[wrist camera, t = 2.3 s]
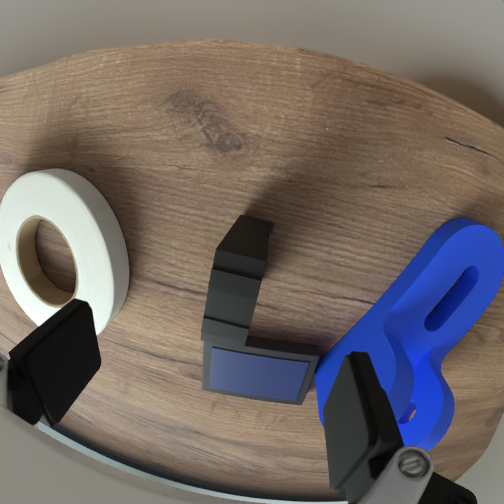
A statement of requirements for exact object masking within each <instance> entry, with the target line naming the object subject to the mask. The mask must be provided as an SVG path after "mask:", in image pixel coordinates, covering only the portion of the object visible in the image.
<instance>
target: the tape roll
mask: <svg viewBox="0 0 504 504" xmlns="http://www.w3.org/2000/svg"><path fill="white" fill-rule="evenodd" d="M42 219H43V220H45V221H47V222H49V223H50V224H52V225H53V226H54V227H55V228H56V229H57V230H58V231H59V232H60V234H61V235H62V237H63V238H64V240H65V241H66V243H67V245H68V247H69V249H70V252H71V254H72V257H73V260H74V264H75V270H76V288H75V291H74V293H69V292H66V291H63V290H61V289H59V288H58V287H56V286H55V285H54V284H53V283H52V282H51V281H50V280H49V279H48V278H47V276H46V275H45V274H44V272H43V270H42V268H41V266H40V264H39V261H38V258H37V254H36V249H35V235H36V230H37V227H38V224H39V223H40V221H41V220H42ZM0 264H1V267H2V270H3V273H4V276H5V279H6V281H7V284H8V286H9V288H10V290H11V292H12V294H13V295H14V297H15V299H16V300H17V302H18V303H19V305H20V306H21V307H22V309H23V310H24V311H25V312H26V314H27V315H28V316H29V317H30V318H31V319H32V320H33V321H34V322H35V323H36V324H37V325H38V326H40V325H41V324H42V323H44V322H45V321H46V320H47V319H48V318H50V317H51V316H52V315H53V314H55V313H56V312H57V311H58V310H60V309H61V308H62V307H63V306H65V305H66V304H67V303H68V302H70V301H71V300H72V299H74V298H77V299H80V300H83V301H87V302H88V303H89V305H90V307H91V308H92V311H93V317H94V324H95V330H96V336H97V335H98V334H99V333H100V332H101V331H102V330H103V329H104V328H105V327H106V326H107V325H108V324H109V323H110V322H111V321H112V320H113V318H114V317H115V316H116V315H117V314H118V313H119V311H120V309H121V307H122V306H123V303H124V301H125V298H126V295H127V291H128V285H129V261H128V254H127V248H126V244H125V240H124V237H123V233H122V231H121V228H120V226H119V223H118V221H117V218H116V216H115V214H114V213H113V211H112V209H111V207H110V206H109V204H108V202H107V201H106V200H105V198H104V197H103V195H102V194H101V193H100V192H99V191H98V190H97V189H96V188H95V187H94V186H93V185H92V184H91V183H90V182H89V181H88V180H86V179H85V178H84V177H82V176H80V175H78V174H77V173H75V172H72V171H69V170H65V169H46V170H40V171H34V172H29V173H26V174H24V175H22V176H21V177H19V178H18V179H17V180H15V181H14V182H13V184H12V185H11V186H10V187H9V189H8V190H7V191H6V193H5V195H4V197H3V199H2V202H1V205H0Z"/></svg>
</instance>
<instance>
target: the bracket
mask: <svg viewBox="0 0 504 504" xmlns="http://www.w3.org/2000/svg"><path fill="white" fill-rule="evenodd" d="M464 270H465V272H464V274H463V276H462V277H461V278H460V279H459V281H458V282H457V283H456V285H455V286H454V287H453V288H452V290H451V291H450V292H449V293H448V295H447V296H446V297H445V298H444V299H443V301H442V302H441V303H440V304H439V305H438V306H437V308H436V309H435V310H434V311H433V312H432V313H431V314H430V315H429V316H428V317H427V315H428V314H429V313H430V312H431V311H432V310H433V308H434V307H435V306H436V305H437V304H438V303H439V301H440V300H441V299H442V298H443V297H444V295H445V294H446V293H447V292H448V291H449V289H450V288H451V287H452V286H453V284H454V283H455V282H456V281H457V279H458V278H459V277H460V275H461V274H462V273H463V271H464ZM503 274H504V248H503V245H502V242H501V240H500V238H499V237H498V235H497V234H496V233H495V232H494V231H493V230H492V229H491V228H489V227H487V226H485V225H483V224H480V223H478V222H476V221H474V220H471V219H467V218H459V219H454V220H451V221H449V222H447V223H445V224H444V225H442V226H441V227H439V228H438V229H437V230H436V231H435V232H434V233H433V234H432V235H431V237H430V238H429V239H428V240H427V242H426V243H425V244H424V246H423V247H422V248H421V250H420V251H419V252H418V254H417V255H416V256H415V257H414V259H413V260H412V261H411V262H410V264H409V265H408V266H407V267H406V269H405V270H404V271H403V272H402V273H401V275H400V276H399V277H398V278H397V279H396V281H395V282H394V283H393V284H392V285H391V286H390V288H389V289H388V290H387V291H386V292H385V293H384V294H383V296H382V297H381V298H380V299H379V300H378V301H377V302H376V303H375V304H374V306H373V307H372V308H371V309H370V310H369V311H368V312H367V313H366V314H365V315H364V316H363V317H362V318H361V320H360V321H359V322H358V323H357V324H356V325H355V326H354V327H353V328H352V329H351V330H350V331H349V332H348V333H347V334H346V335H345V336H344V337H343V338H342V339H341V340H340V341H339V342H338V343H337V344H336V345H335V346H334V347H333V348H332V349H331V350H330V351H329V352H328V353H327V354H325V355H324V356H323V357H322V358H321V359H320V360H319V361H318V363H317V366H316V369H315V379H316V389H317V398H318V409H319V417H320V421H321V423H322V425H323V427H324V421H323V407H324V404H325V402H326V400H327V397H328V395H329V393H330V390H331V388H332V386H333V383H334V381H335V379H336V376H337V374H338V371H339V369H340V366H341V364H342V361H343V359H344V356H345V355H349V354H350V353H351V351H359V352H367V353H368V354H369V356H370V359H371V361H372V364H373V366H374V369H375V372H376V374H377V377H378V380H379V382H380V385H381V388H383V389H384V390H385V392H386V394H387V396H388V399H389V402H390V405H391V407H392V410H393V413H394V416H395V419H396V421H397V424H398V427H399V430H400V433H401V436H402V439H403V442H404V446H408V445H416V446H419V447H422V448H423V449H425V450H427V451H428V450H430V449H431V448H432V447H434V446H435V445H436V444H437V443H438V442H439V441H440V440H441V439H442V437H443V436H444V435H445V433H446V432H447V430H448V428H449V426H450V424H451V421H452V418H453V415H454V406H455V405H454V397H453V394H452V392H451V390H450V388H449V386H448V384H447V382H446V381H445V379H444V377H443V375H442V374H441V363H442V360H443V358H444V357H445V355H446V354H447V353H448V352H449V351H450V350H451V349H452V348H453V347H454V346H455V345H456V344H457V343H458V341H459V340H460V339H461V338H462V337H463V336H464V335H465V334H466V333H467V331H468V330H469V329H470V328H471V327H472V326H473V324H474V323H475V322H476V321H477V320H478V318H479V317H480V316H481V315H482V313H483V312H484V311H485V310H486V308H487V307H488V306H489V305H490V303H491V302H492V300H493V299H494V297H495V295H496V294H497V292H498V289H499V287H500V285H501V282H502V278H503ZM416 408H417V409H416ZM415 409H416V413H415V415H414V417H413V418H412V419H411V420H410V421H409V418H410V415H411V414H412V412H413V411H414V410H415Z"/></svg>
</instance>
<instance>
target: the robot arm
mask: <svg viewBox="0 0 504 504" xmlns="http://www.w3.org/2000/svg"><path fill="white" fill-rule="evenodd" d="M9 355H10V358H11V359H10V360H8V359H7V358H6V356H5V355H3V354H1V353H0V504H265V503H254V502H245V501H238V500H231V499H225V498H219V497H213V496H209V495H204V494H199V493H195V492H190V491H186V490H182V489H178V488H174V487H171V486H167V485H164V484H160V483H157V482H154V481H151V480H147V479H144V478H141V477H139V476H136V475H133V474H130V473H127V472H125V471H122V470H119V469H117V468H114V467H112V466H110V465H107V464H105V463H102V462H100V461H97V460H96V459H93V458H91V457H89V456H87V455H85V454H83V453H81V452H79V451H77V450H75V449H73V448H71V447H69V446H67V445H65V444H63V443H61V442H59V441H58V440H56V439H54V438H52V437H50V436H49V435H47V434H45V433H44V432H42V431H40V430H39V429H38V426H37V422H38V421H39V420H40V421H41V422H42V423H43V424H45V425H47V426H48V427H50V428H52V427H53V426H54V424H55V423H58V422H60V421H61V419H62V418H63V416H64V415H65V414H66V412H67V411H68V410H69V408H70V407H71V405H72V404H73V403H74V401H75V400H76V399H77V397H78V396H79V395H80V393H81V392H82V391H83V389H84V388H85V387H86V385H87V384H88V383H89V381H90V380H91V379H92V377H93V376H94V375H95V374H96V372H97V371H98V370H99V368H100V366H101V357H100V352H99V347H98V341H97V336H96V330H95V324H94V317H93V311H92V308H91V307H90V305H89V303H88V302H87V301H83V300H80V299H77V298H74V299H72V300H71V301H70V302H68V303H67V304H66V305H65V306H63V307H62V308H61V309H60V310H58V311H57V312H56V313H55V314H53V315H52V316H51V317H50V318H48V319H47V320H46V321H45V322H44V323H42V324H41V325H40V326H39V327H38V328H36V329H35V330H34V331H33V332H32V333H30V334H29V335H28V336H27V337H26V338H25V339H23V340H22V341H21V342H20V343H19V344H18V345H17V346H15V347H14V348H13V349H12V350H11V351H10V352H9ZM323 421H324V430H325V439H326V448H327V458H328V469H329V480H330V487H331V488H332V489H335V496H343V495H346V499H347V501H348V504H477V500H476V497H475V495H474V494H473V493H472V492H471V491H469V490H468V489H465V488H464V487H462V486H460V485H458V484H456V483H454V482H452V481H450V480H448V479H446V478H445V477H443V476H441V475H439V474H437V473H435V472H433V469H434V461H433V458H432V456H431V455H430V454H429V452H428V451H427V450H425V449H423V448H422V447H419V446H416V445H408V446H404V442H403V439H402V436H401V433H400V430H399V427H398V424H397V421H396V419H395V416H394V413H393V410H392V407H391V405H390V402H389V399H388V396H387V394H386V392H385V390H384V389H383V388H381V385H380V382H379V380H378V377H377V374H376V372H375V369H374V366H373V364H372V361H371V359H370V356H369V354H368V353H367V352H359V351H351V353H350V354H349V355H345V356H344V359H343V361H342V364H341V366H340V369H339V371H338V374H337V376H336V379H335V381H334V383H333V386H332V388H331V390H330V393H329V395H328V397H327V400H326V402H325V404H324V407H323Z"/></svg>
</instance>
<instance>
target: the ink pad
mask: <svg viewBox="0 0 504 504" xmlns="http://www.w3.org/2000/svg"><path fill="white" fill-rule="evenodd" d="M319 357H320V355H319V348H318V346H314V345H306V344H298V343H291V342H283V341H276V340H270V339H263V338H257V337H251V336H247V339H246V343H245V346H244V349H243V351H242V350H238V349H234V348H230V347H226V346H222V345H218V344H214V343H210V342H207V341H204V349H203V369H202V390H205V391H210V392H215V393H220V394H225V395H230V396H236V397H242V398H248V399H254V400H261V401H268V402H276V403H285V404H294V405H302V404H303V401H304V398H305V396H306V393H307V391H308V388H309V385H310V382H311V380H312V377H313V374H314V371H315V369H316V366H317V363H318V360H319Z"/></svg>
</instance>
